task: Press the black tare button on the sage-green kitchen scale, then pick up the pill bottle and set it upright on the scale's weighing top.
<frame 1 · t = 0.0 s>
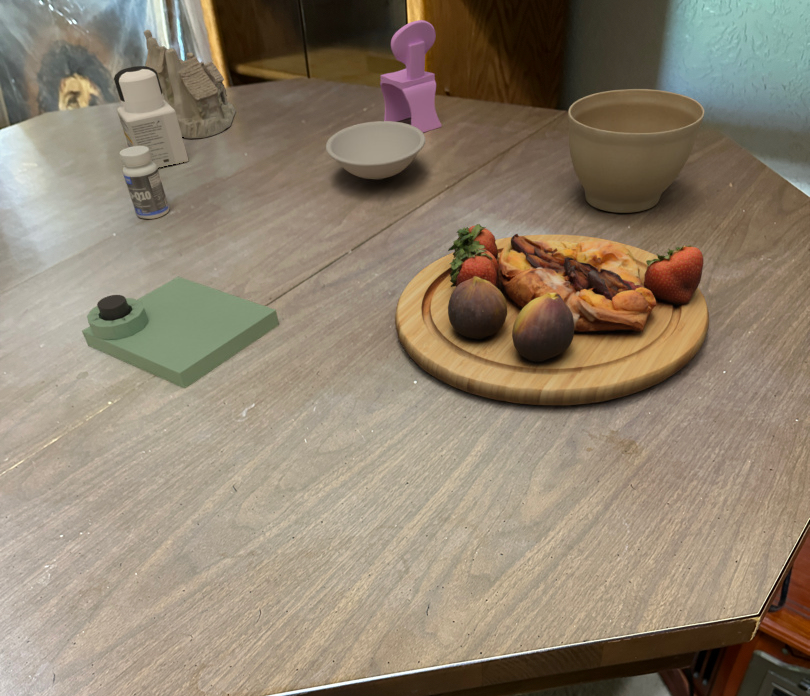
dish: (378, 178, 107), on the table
wooden plate: (546, 322, 77), on the table
planter bowl: (621, 201, 96), on the table
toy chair: (411, 126, 122), on the table
ceramic cottage: (203, 123, 131), on the table
pill bottle: (154, 214, 104), on the table
scale: (183, 335, 80), on the table
container: (160, 161, 119), on the table
tare button: (113, 308, 77), point 4 cm above the table, slide at 0.1 cm
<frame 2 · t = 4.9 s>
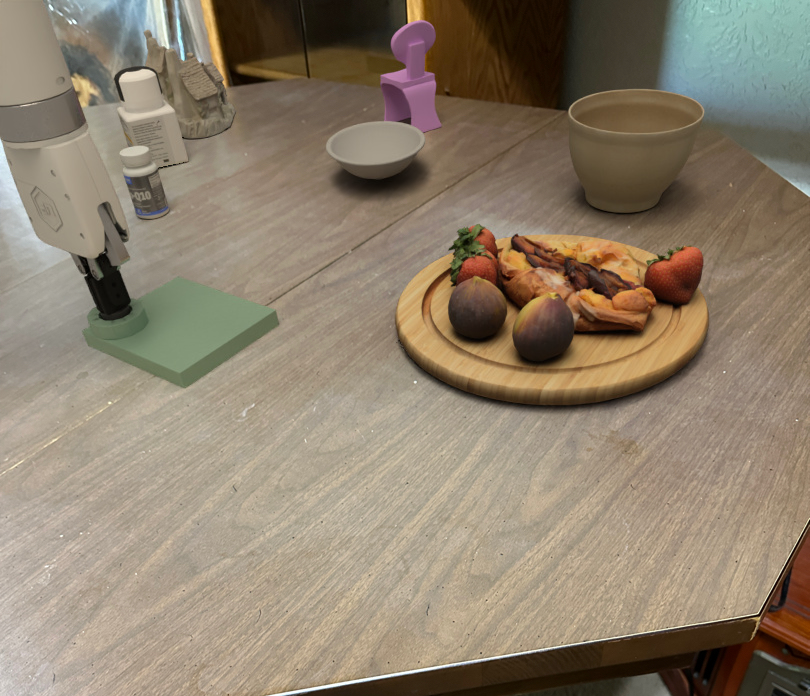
hand: (115, 307, 77), 4 cm above the table, tool pointing down, fingers closed
tare button: (116, 314, 77), point 3 cm above the table, slide at -0.6 cm, touching gripper
everything else where it was.
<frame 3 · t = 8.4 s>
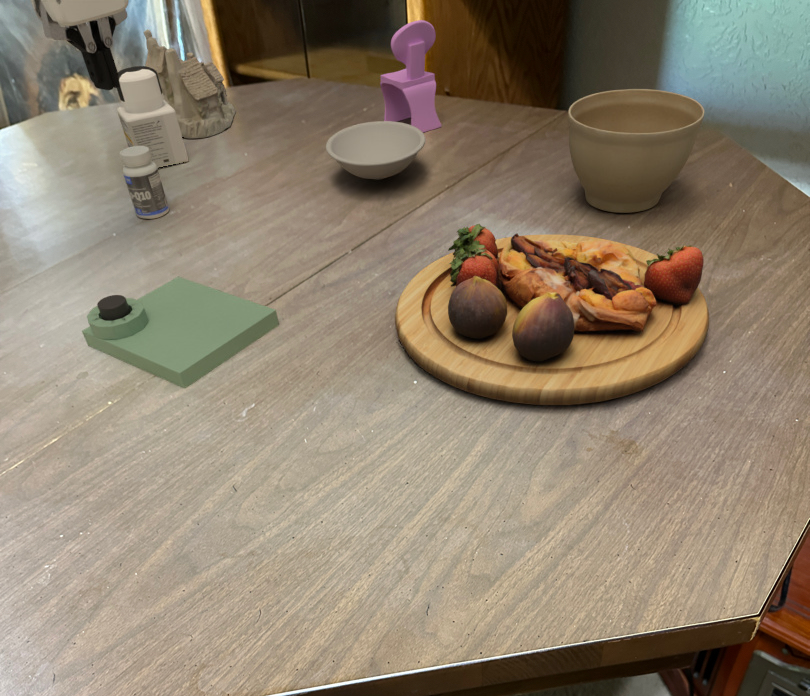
hand: (107, 87, 89), 17 cm above the table, tool pointing down, fingers closed
tare button: (114, 308, 77), point 4 cm above the table, slide at 0.1 cm
everything else where it was.
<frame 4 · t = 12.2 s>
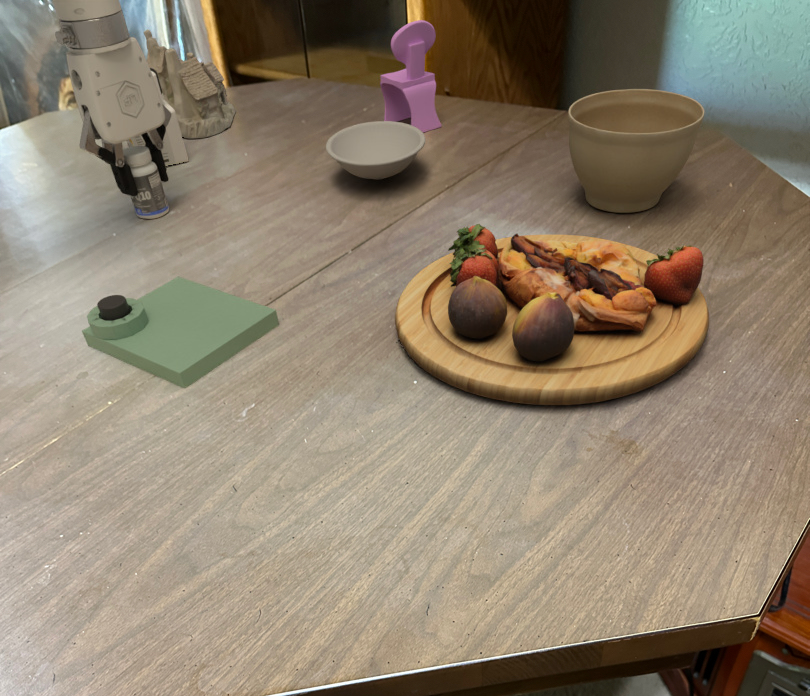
hand: (144, 185, 101), 4 cm above the table, tool pointing down, fingers closed on pill bottle, 4 cm apart
pill bottle: (154, 214, 104), on the table, touching gripper
everything else where it was.
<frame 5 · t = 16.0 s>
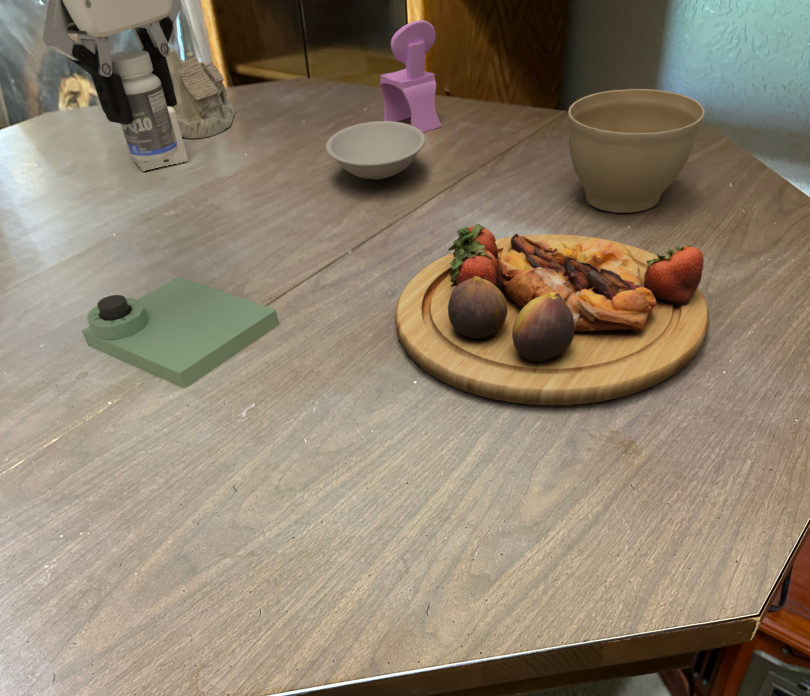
hand: (142, 111, 69), 20 cm above the table, tool pointing down, fingers closed on pill bottle, 4 cm apart
pill bottle: (156, 155, 72), point 16 cm above the table, touching gripper
everything else where it was.
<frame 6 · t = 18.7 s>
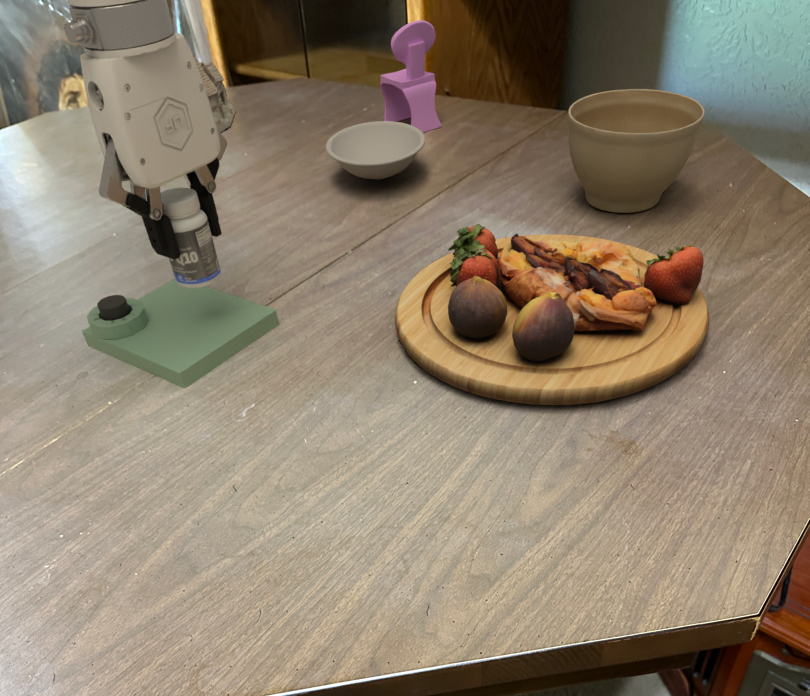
hand: (188, 242, 72), 10 cm above the table, tool pointing down, fingers closed on pill bottle, 4 cm apart
pill bottle: (200, 280, 75), point 6 cm above the table, touching gripper
everything else where it was.
when the fingers open (6 cm above the table, at t = 20.2 s): pill bottle stays where it is, resting on scale.
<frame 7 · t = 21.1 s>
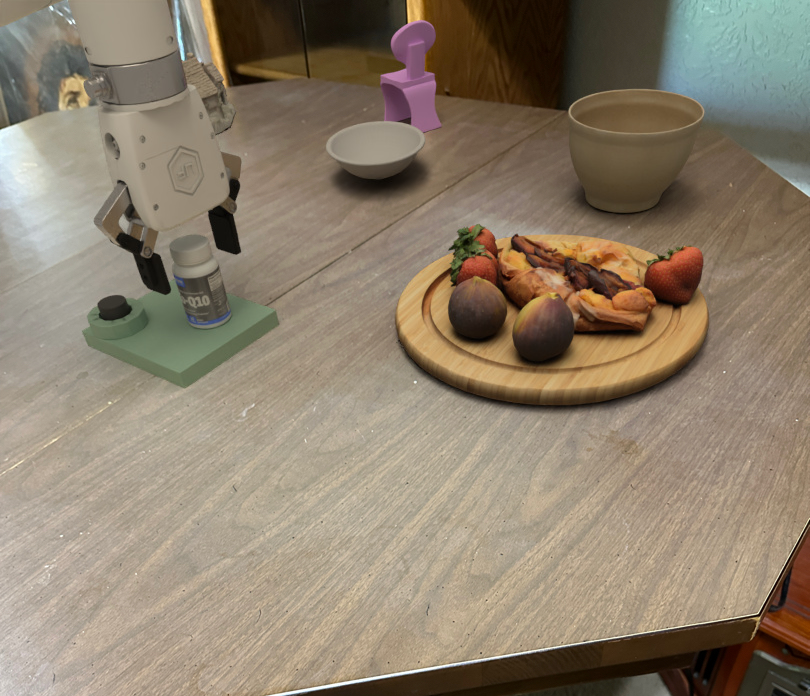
hand: (195, 270, 74), 7 cm above the table, tool pointing down, fingers open, 9 cm apart
pill bottle: (211, 320, 78), point 2 cm above the table, touching scale
everything else where it was.
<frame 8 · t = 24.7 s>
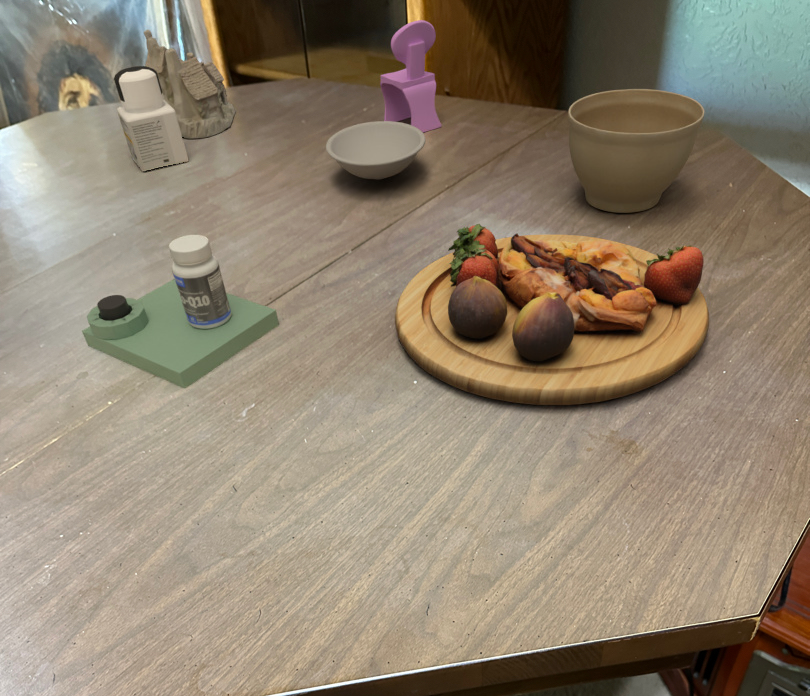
nothing on the table moved.
at the end: tare button pushed in 0.9 cm at the most during the clip, back to where it started at the end; pill bottle inside the target area on the scale (2.9 cm from its centre), point 1.7 cm above the scale's base; pill bottle touching scale; pill bottle tilted 0° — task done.
